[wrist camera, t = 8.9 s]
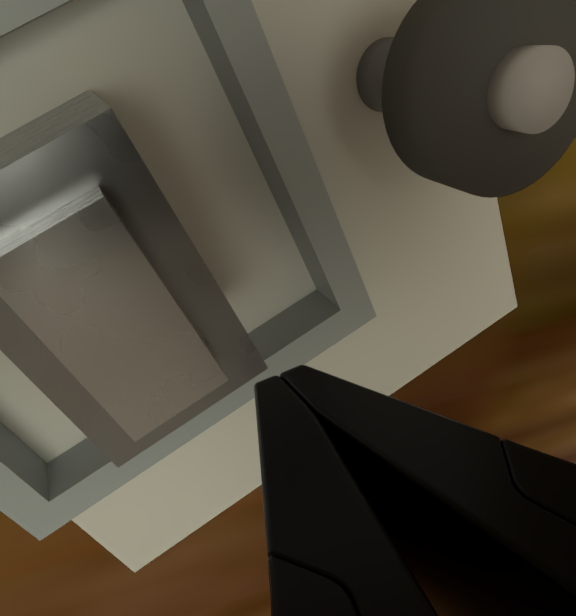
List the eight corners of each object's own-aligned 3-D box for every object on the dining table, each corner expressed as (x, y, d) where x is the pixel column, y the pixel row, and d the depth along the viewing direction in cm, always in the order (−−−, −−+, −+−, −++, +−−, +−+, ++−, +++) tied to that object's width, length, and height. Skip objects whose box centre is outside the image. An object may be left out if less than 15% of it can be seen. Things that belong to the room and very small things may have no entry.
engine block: (218, 299, 19) (281, 386, 15) (98, 374, 19) (123, 493, 14) (88, 89, 15) (117, 113, 10) (-75, 178, 14) (-129, 251, 9)
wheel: (550, 126, 17) (631, 139, 15) (411, 215, 16) (474, 243, 14) (528, -71, 14) (626, -93, 12) (354, 27, 13) (423, 25, 11)
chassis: (500, 297, 27) (549, 324, 25) (126, 553, 24) (138, 615, 22) (317, -566, 12) (395, -729, 10) (-720, -173, 9) (-1012, -256, 7)
